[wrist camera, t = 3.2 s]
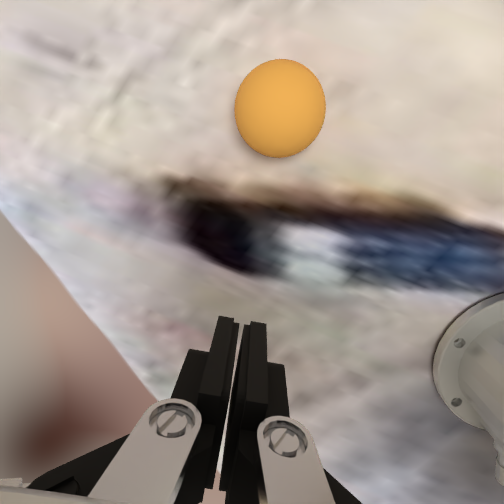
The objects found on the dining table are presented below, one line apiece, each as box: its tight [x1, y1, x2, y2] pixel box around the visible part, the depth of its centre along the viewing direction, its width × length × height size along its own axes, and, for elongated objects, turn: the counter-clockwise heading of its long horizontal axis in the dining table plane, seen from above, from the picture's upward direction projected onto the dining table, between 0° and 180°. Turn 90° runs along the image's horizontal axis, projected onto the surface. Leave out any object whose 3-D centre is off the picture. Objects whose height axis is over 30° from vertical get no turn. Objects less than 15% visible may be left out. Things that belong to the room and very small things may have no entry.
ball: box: [235, 59, 326, 158], centre depth 21 cm, size 6×6×6 cm
